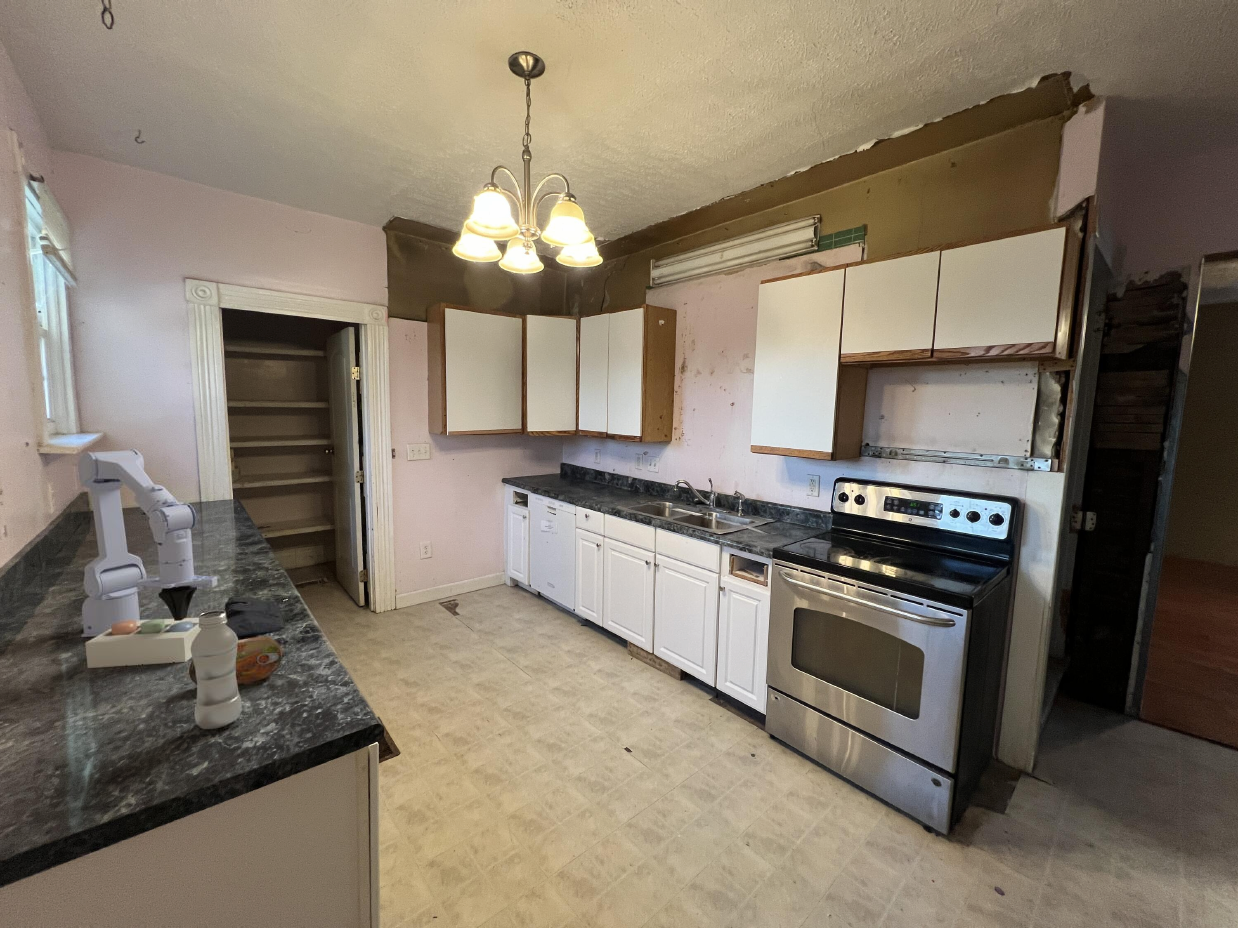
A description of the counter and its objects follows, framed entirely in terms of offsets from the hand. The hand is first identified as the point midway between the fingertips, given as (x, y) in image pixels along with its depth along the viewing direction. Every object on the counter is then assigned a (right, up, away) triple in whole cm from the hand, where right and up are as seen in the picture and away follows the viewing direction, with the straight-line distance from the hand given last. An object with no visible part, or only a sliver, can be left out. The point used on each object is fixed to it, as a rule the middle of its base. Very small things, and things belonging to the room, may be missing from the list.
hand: (180, 618), depth 116 cm
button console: (-6, -8, 0) cm, 9 cm away
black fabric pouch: (+3, -6, +17) cm, 18 cm away
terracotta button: (-11, -3, -2) cm, 11 cm away
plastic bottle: (+28, -11, -25) cm, 39 cm away
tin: (+21, -10, -11) cm, 25 cm away
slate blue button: (0, -4, 0) cm, 4 cm away
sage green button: (-5, -3, -1) cm, 6 cm away
